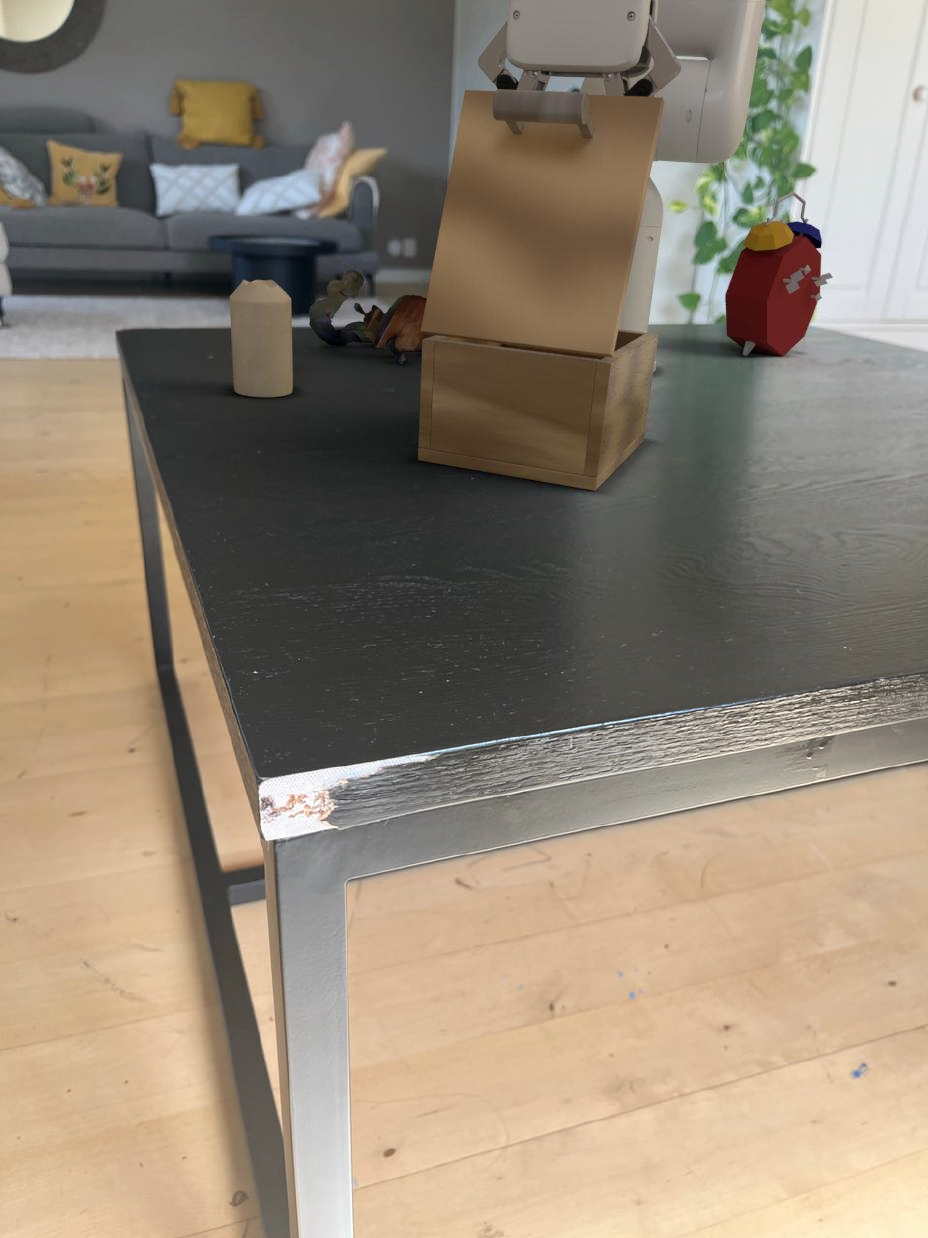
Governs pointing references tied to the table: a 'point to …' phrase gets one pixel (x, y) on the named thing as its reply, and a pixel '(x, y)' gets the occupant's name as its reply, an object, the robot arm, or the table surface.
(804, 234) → the alarm clock
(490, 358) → the chest
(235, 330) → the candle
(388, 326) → the figurine
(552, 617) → the table surface
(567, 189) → the lid
